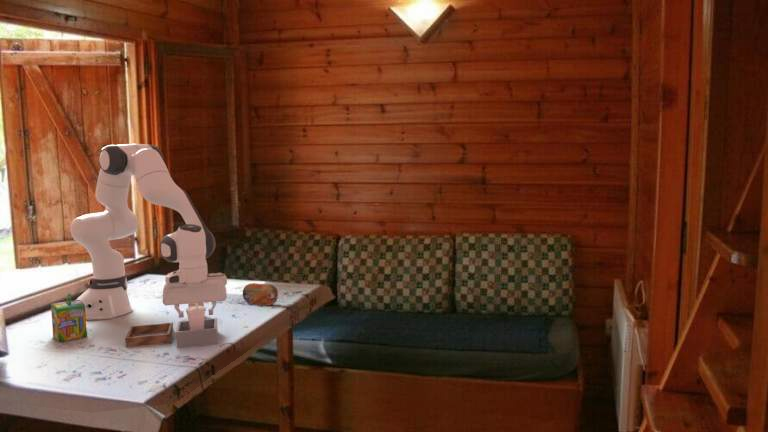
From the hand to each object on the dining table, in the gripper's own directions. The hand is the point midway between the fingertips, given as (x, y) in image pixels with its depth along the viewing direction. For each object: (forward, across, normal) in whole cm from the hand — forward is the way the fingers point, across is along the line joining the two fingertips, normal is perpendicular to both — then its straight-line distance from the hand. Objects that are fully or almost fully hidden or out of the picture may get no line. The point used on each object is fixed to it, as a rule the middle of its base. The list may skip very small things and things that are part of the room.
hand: (196, 315), depth 216 cm
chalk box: (+8, +42, -17) cm, 47 cm away
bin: (+8, 0, 0) cm, 8 cm away
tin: (+8, -22, -39) cm, 46 cm away
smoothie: (+7, 0, 0) cm, 7 cm away
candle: (+8, +2, -28) cm, 29 cm away
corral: (+8, +16, -6) cm, 18 cm away
